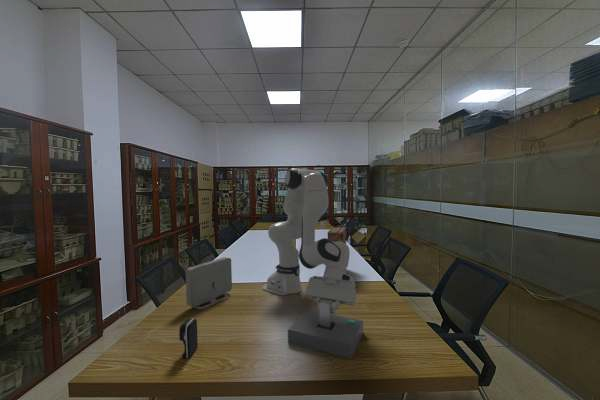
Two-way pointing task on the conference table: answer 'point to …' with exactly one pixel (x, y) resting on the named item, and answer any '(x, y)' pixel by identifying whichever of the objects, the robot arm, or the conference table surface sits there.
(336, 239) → the book
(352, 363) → the conference table surface
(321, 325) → the peg
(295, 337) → the docking mount
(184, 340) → the battery charger
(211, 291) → the network device
